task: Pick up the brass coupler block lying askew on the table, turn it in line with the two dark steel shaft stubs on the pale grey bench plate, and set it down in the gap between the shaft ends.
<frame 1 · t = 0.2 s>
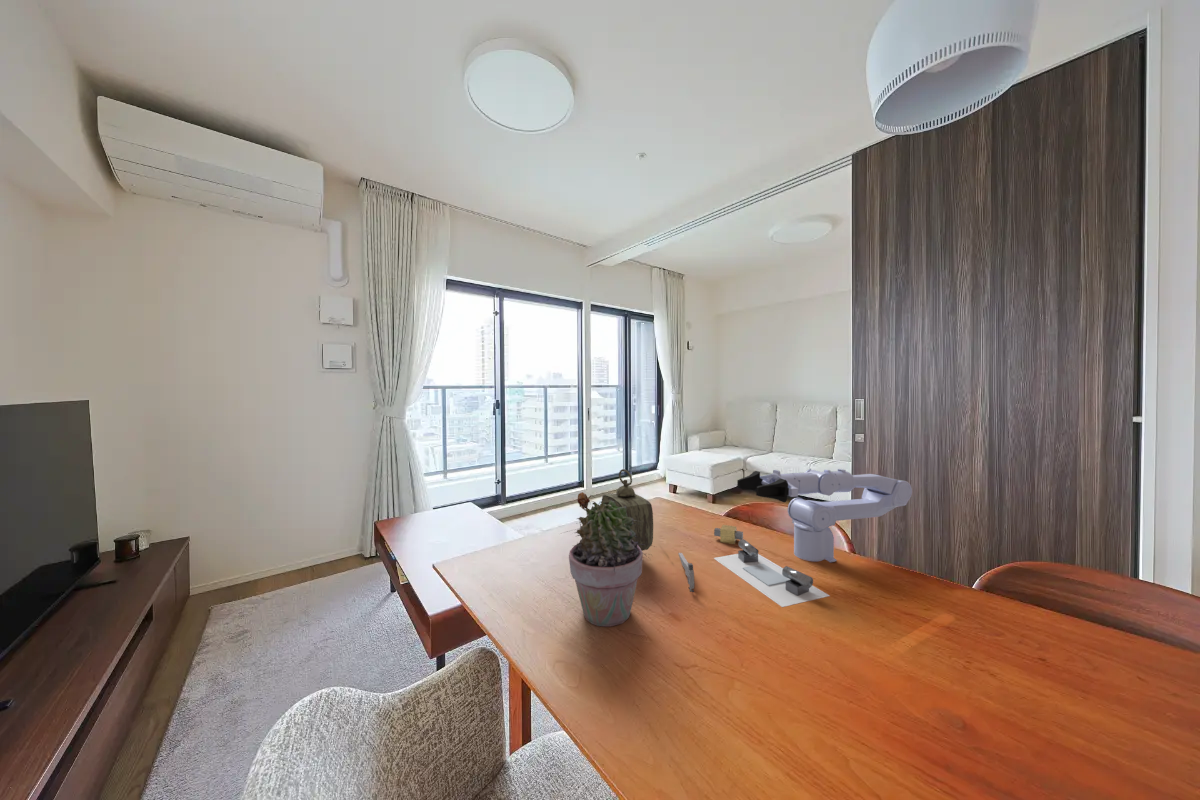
hand: (747, 487, 102), 21 cm above the table, tool horizontal, fingers open, 7 cm apart
tabletop clock: (627, 559, 110), on the table
potted plant: (611, 614, 84), on the table
bench: (765, 578, 97), on the table
shaft b: (797, 590, 90), resting on bench
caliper: (685, 573, 102), on the table
coupler: (728, 544, 119), on the table
shaft a: (748, 559, 106), resting on bench
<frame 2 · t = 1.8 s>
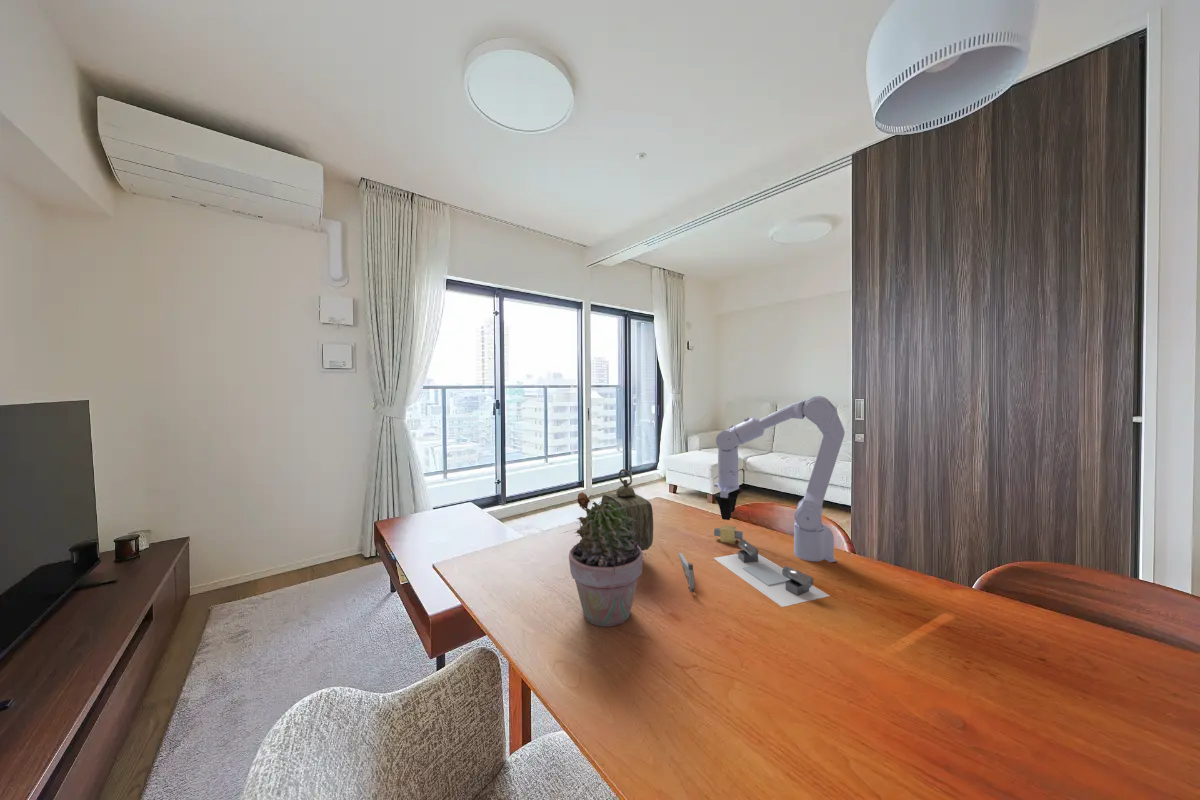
hand: (728, 515, 118), 9 cm above the table, tool pointing down, fingers open, 7 cm apart
nothing on the table moved.
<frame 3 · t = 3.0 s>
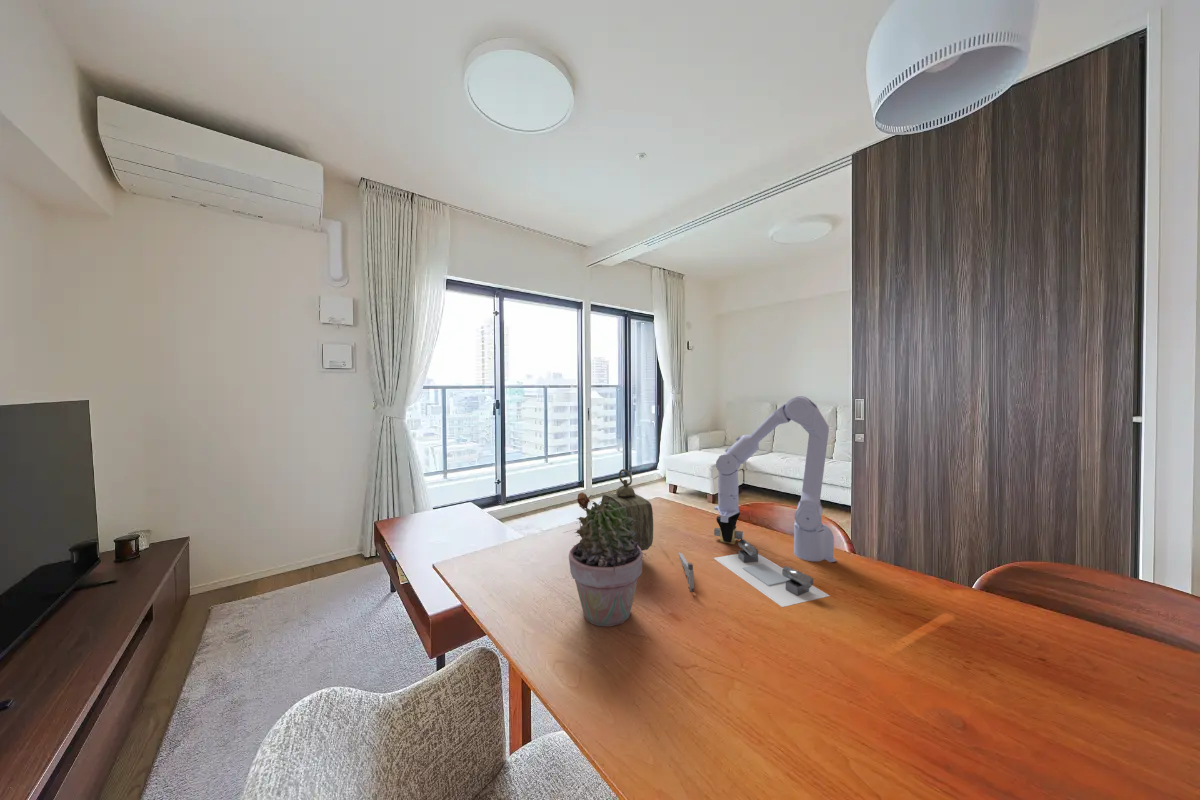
hand: (728, 538, 119), 2 cm above the table, tool pointing down, fingers closed on coupler, 4 cm apart
coupler: (728, 544, 119), on the table, touching gripper
everything else where it was.
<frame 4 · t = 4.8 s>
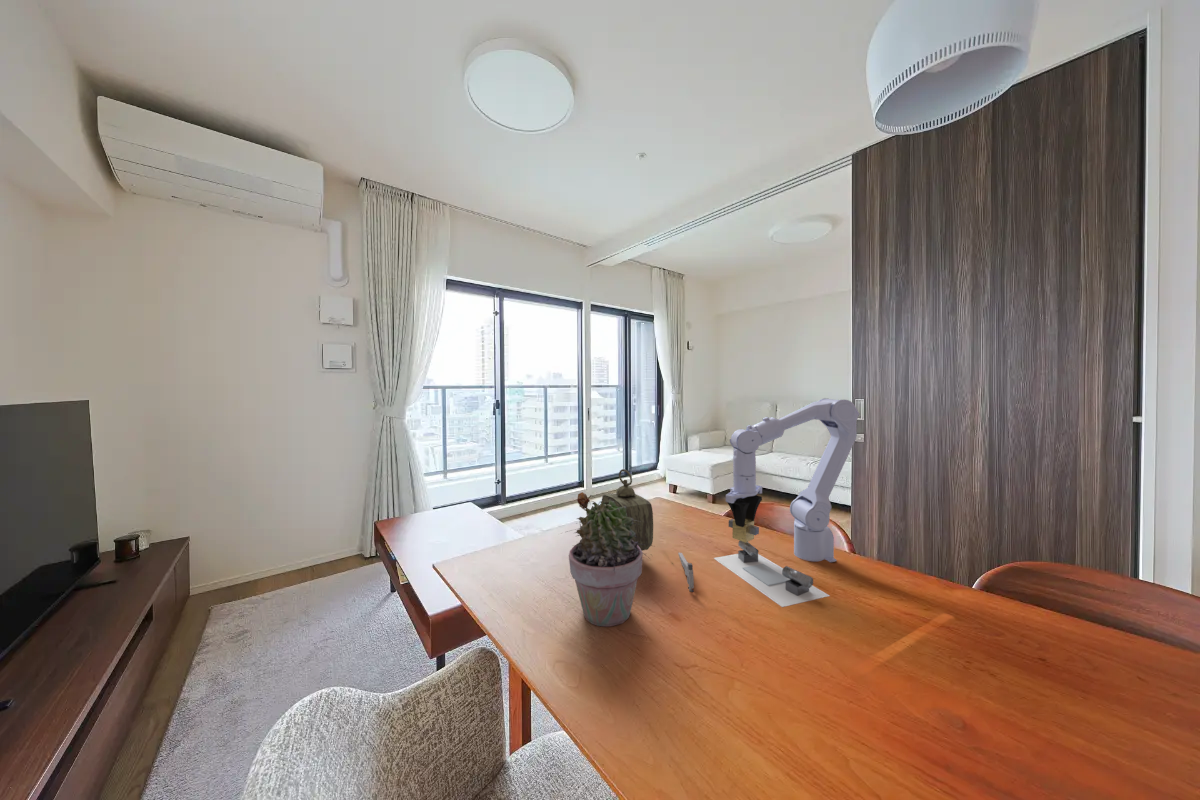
hand: (744, 523, 108), 10 cm above the table, tool pointing down, fingers closed on coupler, 4 cm apart
coupler: (743, 538, 108), point 6 cm above the table, touching gripper
everything else where it was.
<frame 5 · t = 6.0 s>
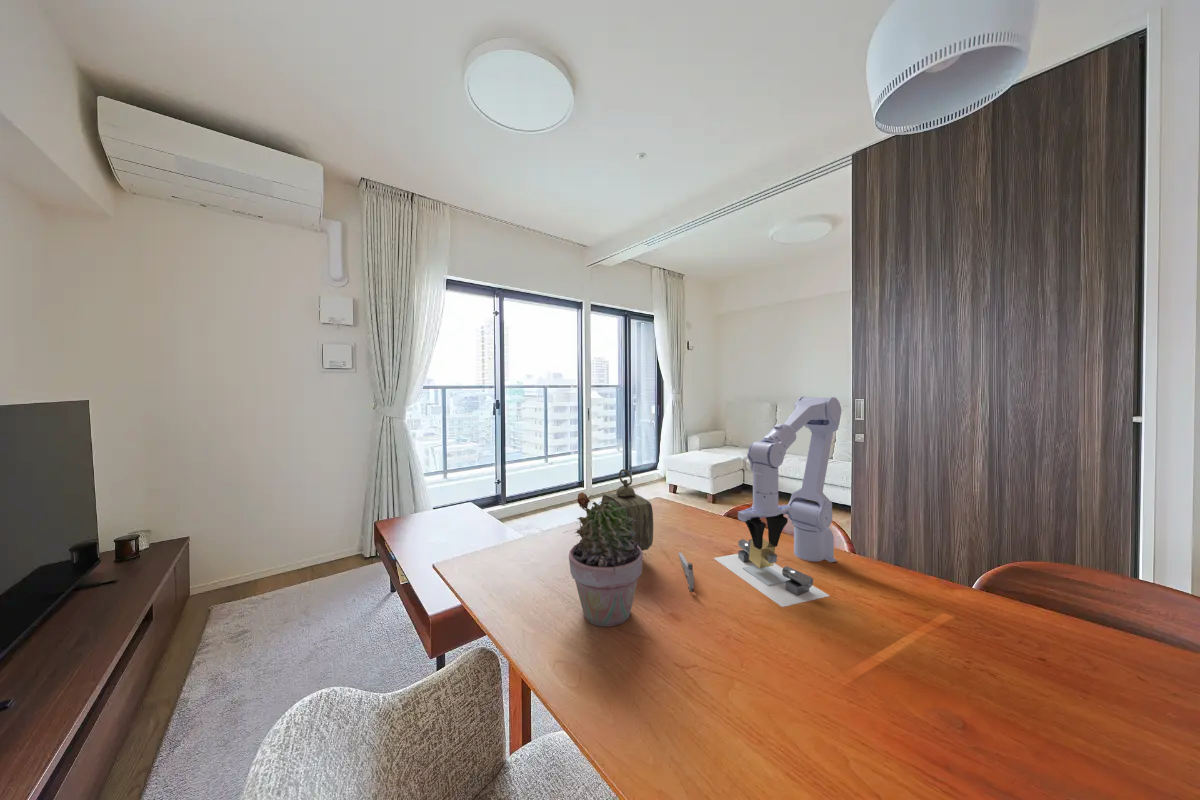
hand: (765, 546, 97), 8 cm above the table, tool pointing down, fingers closed on coupler, 4 cm apart
coupler: (761, 562, 99), point 3 cm above the table, tilted 7°, touching gripper
everything else where it was.
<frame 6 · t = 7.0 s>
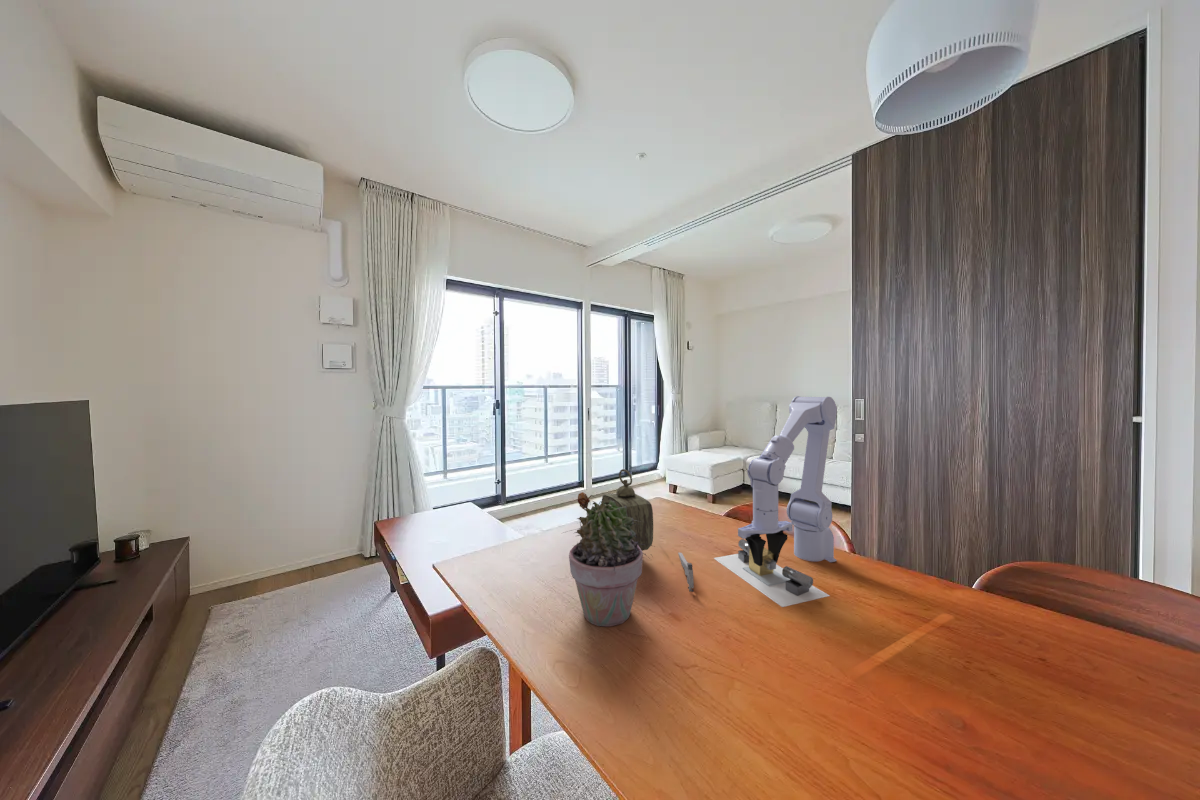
hand: (765, 562, 97), 4 cm above the table, tool pointing down, fingers closed on coupler, 4 cm apart
coupler: (760, 570, 99), point 1 cm above the table, touching bench, gripper, shaft a
everything else where it was.
when the fingers open (4 cm above the table, at t = 7.1 s): coupler stays where it is, resting on bench, shaft a.
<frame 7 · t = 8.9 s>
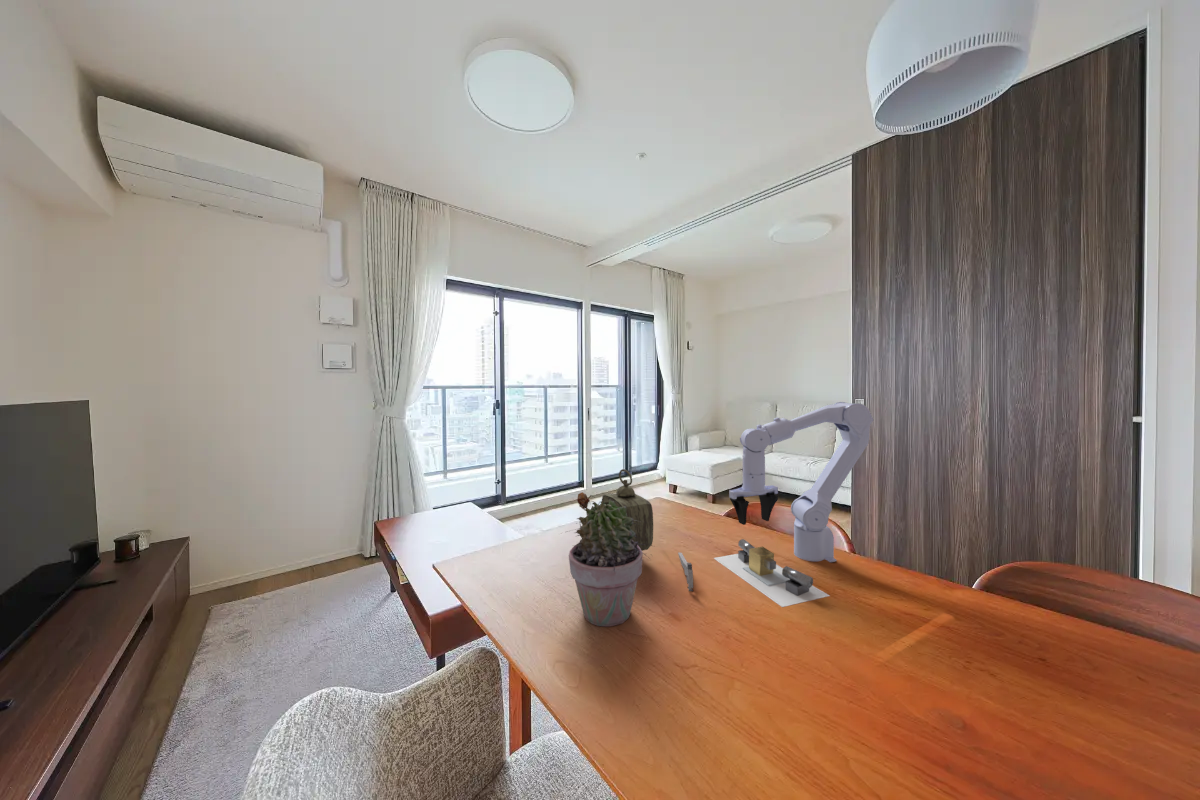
hand: (753, 521, 109), 10 cm above the table, tool pointing down, fingers open, 7 cm apart
coupler: (760, 570, 99), point 1 cm above the table, touching bench, shaft a
everything else where it was.
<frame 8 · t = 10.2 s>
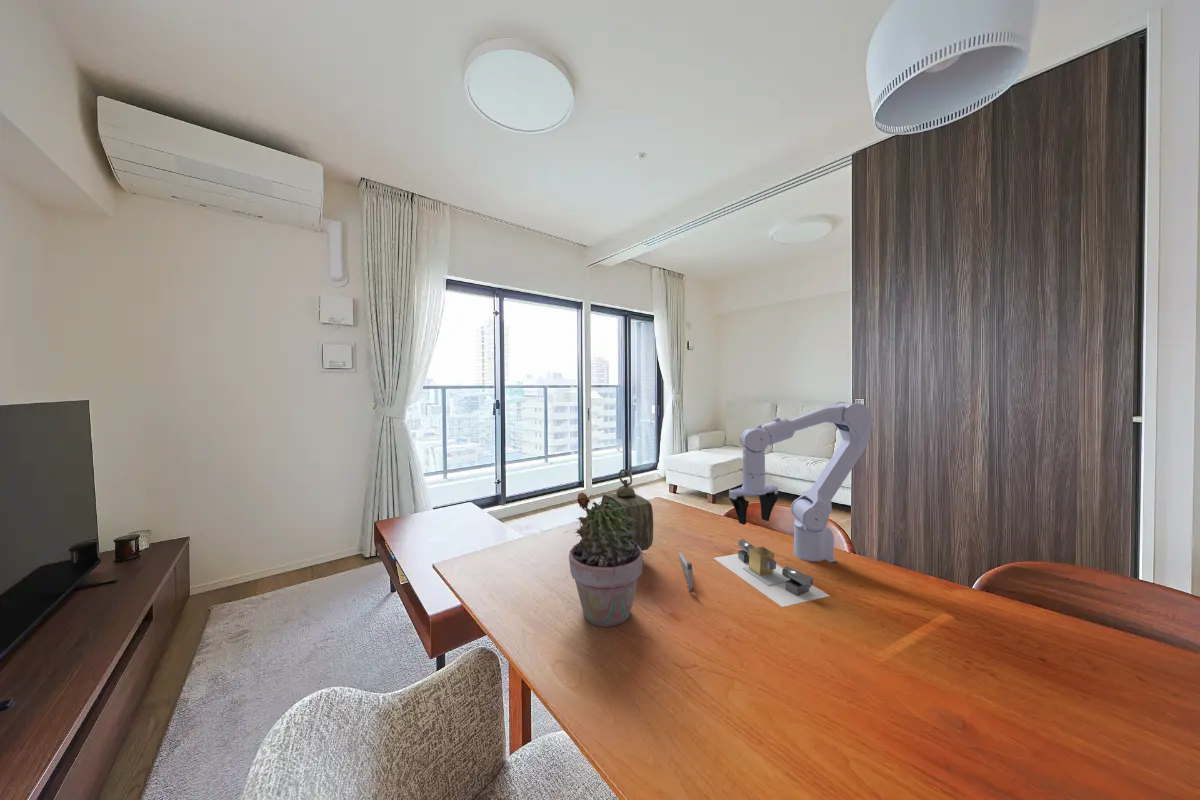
hand: (753, 521, 109), 10 cm above the table, tool pointing down, fingers open, 7 cm apart
nothing on the table moved.
at the end: coupler 1.6 cm off-centre on the bench, point 1.4 cm above the bench's base; coupler tilted 3°; the gripper is holding nothing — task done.
